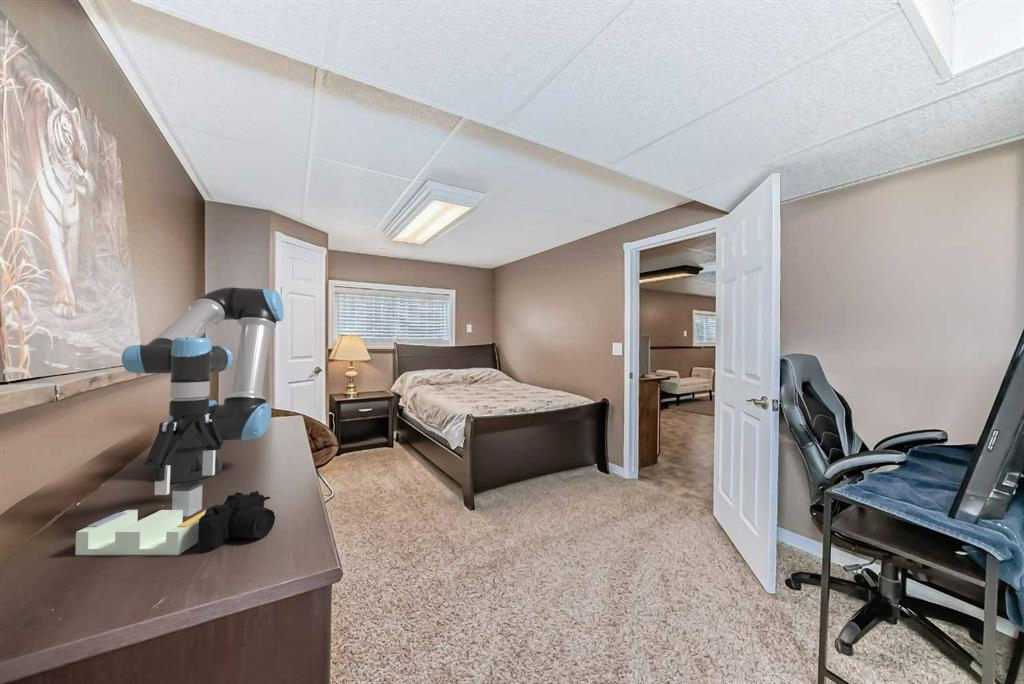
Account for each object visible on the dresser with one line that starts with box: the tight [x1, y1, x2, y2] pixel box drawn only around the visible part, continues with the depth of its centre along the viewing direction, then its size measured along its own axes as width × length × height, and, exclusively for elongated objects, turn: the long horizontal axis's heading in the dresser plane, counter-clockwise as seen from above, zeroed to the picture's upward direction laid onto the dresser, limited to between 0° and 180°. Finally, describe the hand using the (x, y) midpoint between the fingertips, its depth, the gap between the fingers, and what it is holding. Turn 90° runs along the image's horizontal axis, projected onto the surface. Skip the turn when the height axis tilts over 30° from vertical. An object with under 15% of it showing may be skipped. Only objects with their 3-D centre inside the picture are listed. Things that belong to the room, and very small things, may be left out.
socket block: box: [75, 509, 207, 556], centre depth 79 cm, size 10×20×5 cm, turn 91°
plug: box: [171, 481, 204, 517], centre depth 93 cm, size 4×4×7 cm
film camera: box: [197, 490, 276, 554], centre depth 82 cm, size 15×10×9 cm, turn 168°
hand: (186, 484), depth 93 cm, fingers open, 13 cm apart
